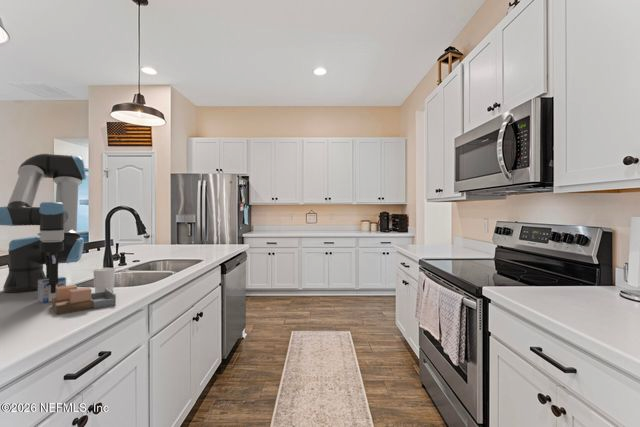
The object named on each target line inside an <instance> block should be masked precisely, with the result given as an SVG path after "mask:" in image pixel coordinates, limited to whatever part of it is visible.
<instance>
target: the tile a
mask: <svg viewBox="0 0 640 427" xmlns="http://www.w3.org/2000/svg"><path fill="white" fill-rule="evenodd" d="M71 289H78V285H76V284H70V285H66V286H61V287H56V299H57V300H63V299H69V290H71Z"/></svg>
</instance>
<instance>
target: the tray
mask: <svg viewBox="0 0 640 427" xmlns="http://www.w3.org/2000/svg"><path fill="white" fill-rule="evenodd" d="M116 296H117V295H116V293H114V291H113V292H112V291H110V290H109V289H107V288H105V292H99V293H95V292H94V293H92V292H91V298H92V299H93V309H100V308H107V307H111V306H116V303H117V302H116V301H117V297H116Z"/></svg>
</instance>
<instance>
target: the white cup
mask: <svg viewBox="0 0 640 427" xmlns="http://www.w3.org/2000/svg"><path fill="white" fill-rule="evenodd" d="M115 273H116V268H115V267H102V268H101V267H99V268H95V269H93V287H94V293H99V292H105V288H107V289H109V290H110V291H113V292H114V290H115V289H114V285H115V277H116V276H115V275H116V274H115Z"/></svg>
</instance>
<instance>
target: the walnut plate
mask: <svg viewBox="0 0 640 427" xmlns="http://www.w3.org/2000/svg"><path fill="white" fill-rule="evenodd" d="M51 306H52V309H53V311H54V312H55V314H56V315H63V314H64V315H65V314H69V313H74V312H81V311H85V310H92V309H93V299H92V298H91V300H89V301H83V302H76V303H70V301H69V299H63V300H57V299H56V298H52V301H51Z"/></svg>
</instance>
